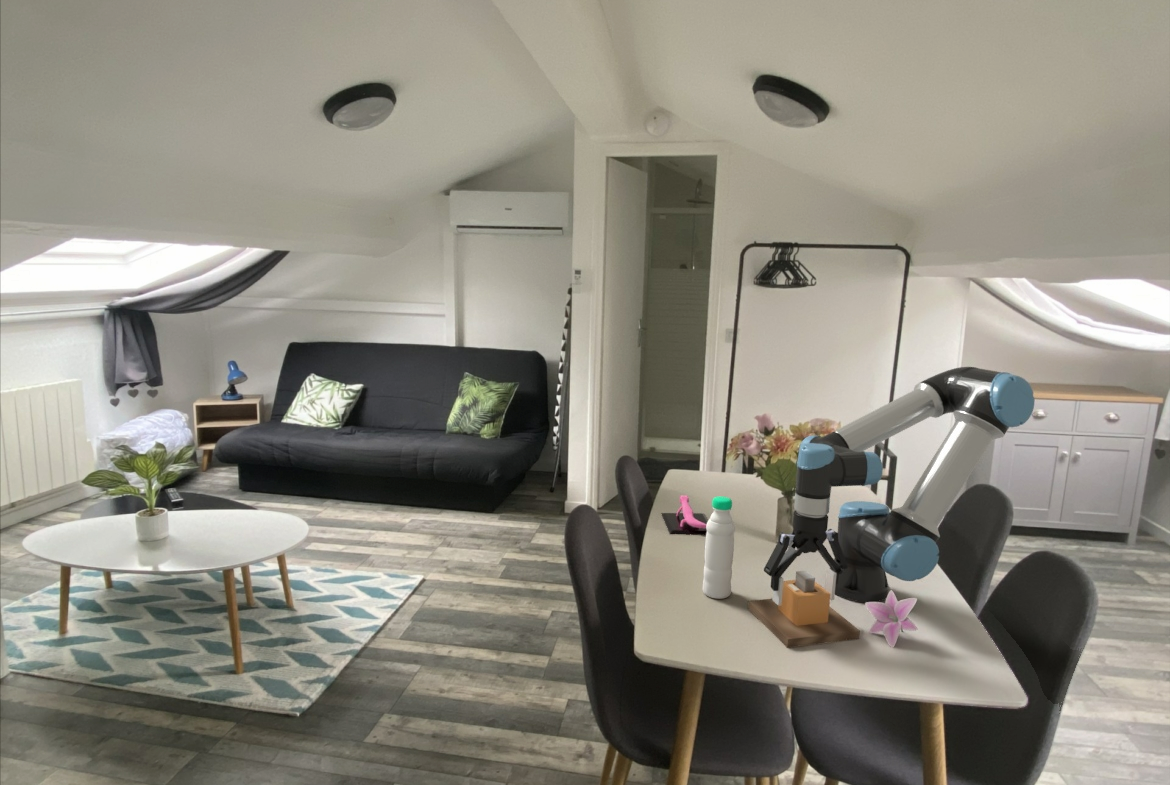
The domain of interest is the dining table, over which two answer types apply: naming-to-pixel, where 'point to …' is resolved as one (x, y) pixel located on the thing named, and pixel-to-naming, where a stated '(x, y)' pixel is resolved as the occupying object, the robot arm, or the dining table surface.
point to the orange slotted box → (805, 604)
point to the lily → (891, 617)
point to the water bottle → (719, 550)
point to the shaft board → (802, 634)
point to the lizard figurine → (685, 520)
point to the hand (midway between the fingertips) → (803, 600)
